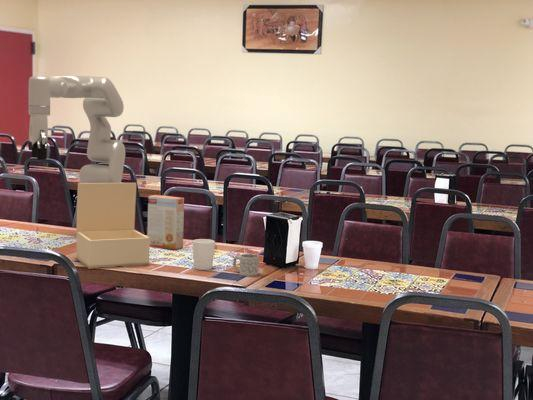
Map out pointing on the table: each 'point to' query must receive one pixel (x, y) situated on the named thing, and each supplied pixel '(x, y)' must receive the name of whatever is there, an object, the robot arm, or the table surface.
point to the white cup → (203, 254)
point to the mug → (247, 264)
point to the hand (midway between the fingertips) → (38, 158)
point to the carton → (112, 248)
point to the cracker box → (165, 221)
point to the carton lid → (105, 206)
